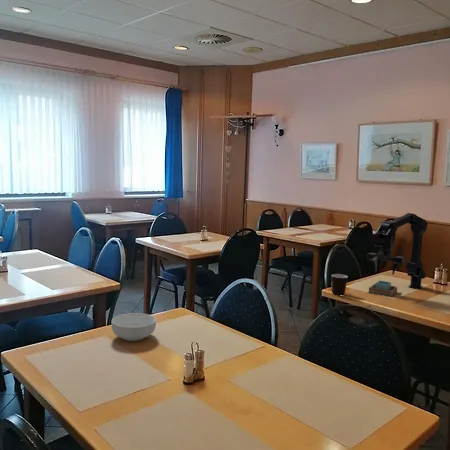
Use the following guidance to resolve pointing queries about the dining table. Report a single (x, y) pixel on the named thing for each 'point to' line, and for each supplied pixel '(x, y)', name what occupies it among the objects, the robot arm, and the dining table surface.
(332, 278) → the dark brown cup
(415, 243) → the robot arm
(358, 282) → the dining table surface
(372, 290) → the walnut crate
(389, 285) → the small crate
